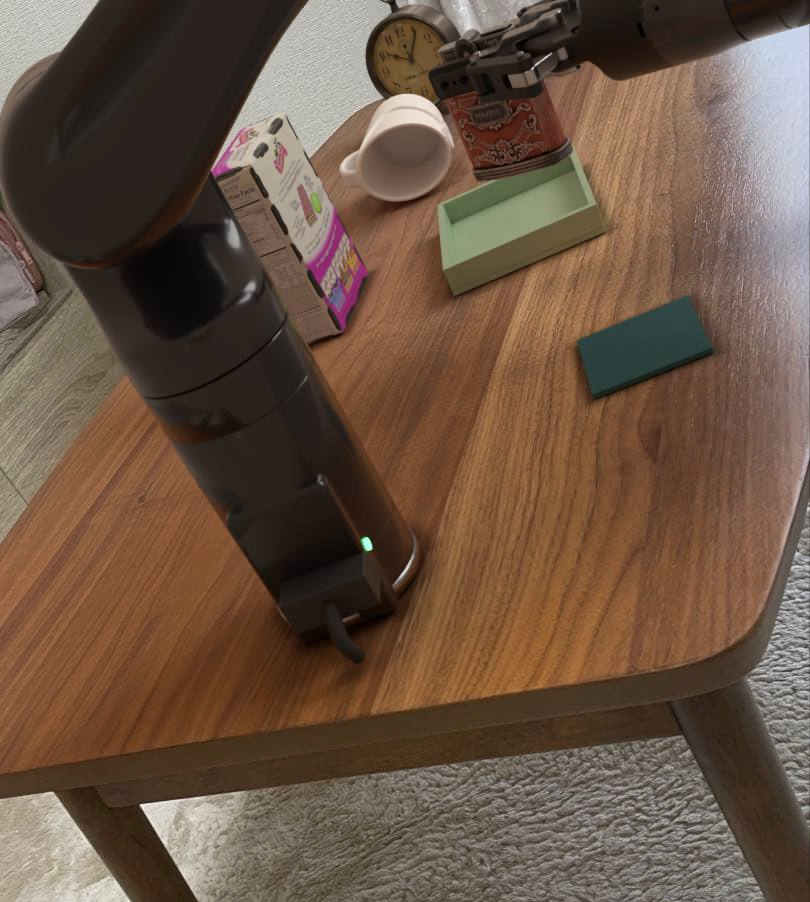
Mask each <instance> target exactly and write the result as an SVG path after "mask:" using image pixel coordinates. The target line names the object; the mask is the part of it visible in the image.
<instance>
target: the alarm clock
mask: <svg viewBox="0 0 810 902" xmlns="http://www.w3.org/2000/svg"><path fill="white" fill-rule="evenodd" d="M379 1H380V2H382V3H385V4H387V5H389V7H390V11H391V12H390V13H389V14H388V15H387V16H386V17H385V18H383V19H381V20H380V21H379V22H378V23H377V24H376V25H375V26H374V28H372V30H371V32H370V34H369V36H368V39H367V42H366V46H365V56H364V58H365V67H366V71H367V74H368V77H369V79H370V81H371V84H372V85H373V87H374V88H375V90H376V91H377V93H378V94H380V96H381V97H382V98H383V99H384V100H385V101H386V100H388V99H389V98H391V97H394V96H396V95H400V94H414V95H418V96H421V97H424V98H426V99H427V100H429V101H430V102H432V103H433V104H434V105H435V106H436V107H438V106H440V104H443V102H445V101H444V100H441V99H439V98H438V97H437V96H436V94H435V92H434V89H433V87H432V85H431V82H430V80H429V78H428V73H429V72H430V71H431V70H432V68H433V67H435V66H437V65H440V64H443V62H442V60H441V58H440V55H439V53H438V50H439V49H440V48H441V47H443V46H444V45H446V44H449V43H452V42H455V41H457V40H458V39H459V38H461V37H462V35H461V34H460V32H459V30H458V28H457V27H456V25H455V24H454V23H453V22H452V20H451V19H450V18H449V17H447V15H445V14H444V13H443V12H442V11H440V10H438V9H437V8H435V7H432V6H429V5H425V4H418V3H413V4H406V5H403V6H399V5H398V4H397V0H379Z"/></svg>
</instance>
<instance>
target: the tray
mask: <svg viewBox="0 0 810 902" xmlns="http://www.w3.org/2000/svg"><path fill="white" fill-rule="evenodd" d="M571 145H572V148H573V153H572V154H571V155H570V156H569V157H568V158H567V159H565V160H564V161H562V162H560V163H558V164H556V165H553V166H550V167H547V168H544V169H540V170H537V171H534V172H530V173H526V174H522V175H519V176H515V177H510V178H504V179H499V180H492V181H486V182H485V183H482V184H481V185H478V186H476V187H473V188H471V189H469V190H467V191H465V192H463V193H461V194H458V195H456V196H453V197H452V198H449V199H447V200H444V201H442V202H440V203H438V204H436V211H437V212H436V213H437V222H438V233H439V244H440V255H441V265H442V267H441V268H442V272H443V274H444V277H445V279H446V281H447V283H448V285H449V287H450V289H451V291H452V294H453V296H454V297H457V296H458V295H460V294H463V293H466V292H468V291H470V290H472V289H474V288H478V287H479V286H482V285H484V284H487V283H489V282H491V281H494V280H497V279H499V278H500V277H504V276H506V275H507V274H510V273H512V272H515V271H517V270H520V269H522V268H524V267H527V266H529V265H531V264H534V263H536V262H539V261H541V260H544V259H545V258H547V257H550V256H553V255H554V254H557V253H560V252H562V251H564V250H567V249H569V248H571V247H575V246H576V245H578V244H580V243H583V242H586V241H588V240H590V239H593V238H595V237H597V236H600V235H602V234H604V233H606V232H607V228H606V226H605V223H604V220H603V218H602V215H601V212H600V209H599V206H598V204H597V202H596V199H595V196H594V193H593V192H592V191H593V190H592V189H591V186H590V184H589V181H588V179H587V176H586V174H585V172H584V168H583V166H582V163H581V161H580V159H579V156H578V153H577V151H576V148H575V146H574V144H571Z"/></svg>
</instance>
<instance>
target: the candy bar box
mask: <svg viewBox="0 0 810 902" xmlns="http://www.w3.org/2000/svg"><path fill="white" fill-rule="evenodd" d="M211 171H212V173H213V175H214V177H215V178H216V180H217V182H218V184H219V186H220V188H221V189H222V191H223V193H224V195H225V197H226V199H227V201H228V202H229V204H230V206H231V208H232V210H233V211H234V213H235V215H236V217H237V218H238V220H239V222H240V223H241V225H242V227H243V228H244V230H245V232H246V233H247V235H248V237H249V239H250V240H251V242H252V244H253V246H254V248H255V249H256V251H257V253H258V255H259V256H260V258H261V260H262V262H263V263H264V265H265V267H266V269H267V270H268V272H269V274H270V276H271V278H272V280H273V282H274V284H275V286H276V288H277V290H278V291H279V293H280V295H281V297H282V299H283V300H284V302H285V304H286V307H287V308H288V310H289V312H290V313H291V315H292V317H293V319H294V321H295V322H296V324H297V326H298V328H299V330H300V332H301V333H302V335H303V337H304V339H305V341H306V342H307V344H308V346H309V345H313V344H316V343H318V342H320V341H321V342H322V341H323V340H326V339H329V338H331V337H335V336H338V335H340V334H344V332H345V330H346V328H347V326H348V323H349V321H350V319H351V316H352V314H353V311H354V309H355V306H356V304H357V301H358V298H359V296H360V294H361V291H362V289H363V287H364V283H365V281H366V279H367V278H368V274H369V270H368V268H367V267H366V265H365V263H364V261H363V259H362V257H361V255H360V253H359V251H358V250H357V248H356V245H355V244H354V241H353V240H352V237H351V236H350V234H349V232H348V230H347V228H346V227H345V225H344V222H343V220H342V219H341V217H340V216H339V214H338V211H337V209H336V207H335V206H334V203H333V202H332V200H331V198H330V196H329V195H328V192H327V191H326V188H325V187H324V184H323V183H322V181H321V179H320V177H319V175H318V173H317V171H316V169H315V167H314V165H313V163H312V162H311V160H310V158H309V155H308V154H307V152H306V150H305V148H304V146H303V144H302V141H300V138H299V137H298V135H297V132H296V131H295V129H294V127H293V124H292V123H291V121H290V119H289V118H288V116H287V113H286V111H282V112H281V111H280V112H278V113H276V114H274V115H271V116H269V117H267V118H263V119H261V120H259V121H256V122H255V123H252V124H248V125H247V126H245V127H243V128H241V129H240V130H239V131H238V133H237V134H236V135H235V137H234V138H233V140H232V141H231V142H230V144H229V145H228V147H227V148H226V150H225V151H224V152H223V154H222V155H221V156H220V158H219V160H218V161H217V163H216V164H215V166H213V168H212V169H211Z"/></svg>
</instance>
